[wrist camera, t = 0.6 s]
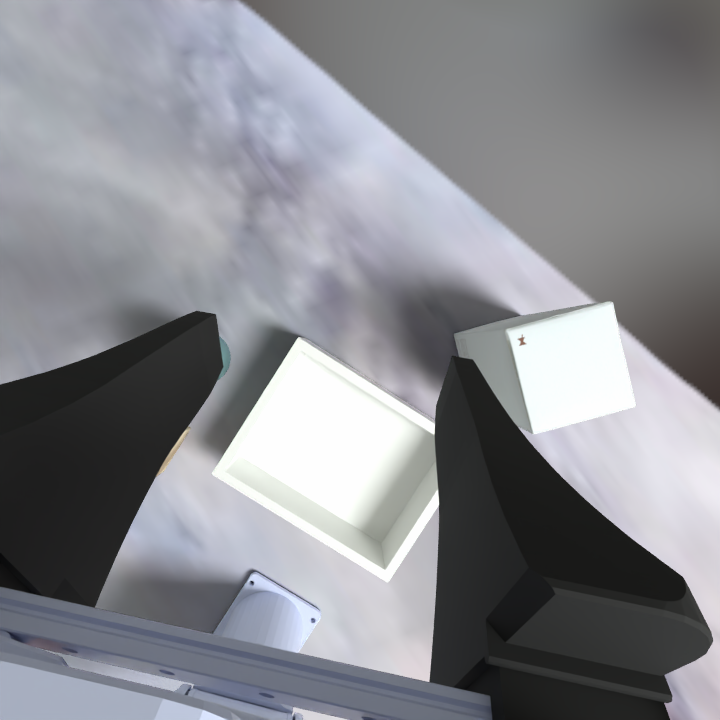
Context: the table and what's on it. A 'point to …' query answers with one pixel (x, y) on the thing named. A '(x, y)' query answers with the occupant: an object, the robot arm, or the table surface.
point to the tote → (338, 459)
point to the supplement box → (553, 365)
